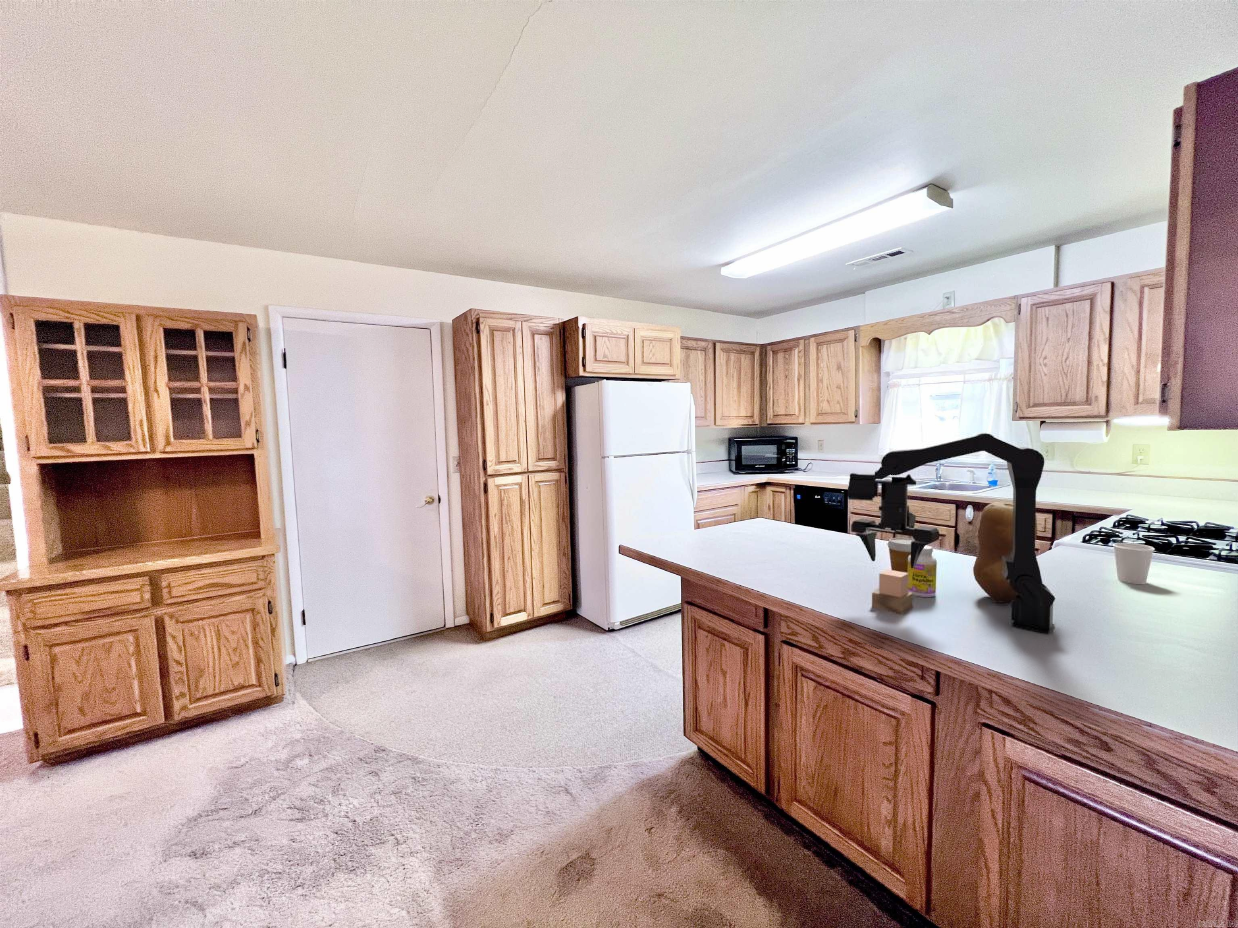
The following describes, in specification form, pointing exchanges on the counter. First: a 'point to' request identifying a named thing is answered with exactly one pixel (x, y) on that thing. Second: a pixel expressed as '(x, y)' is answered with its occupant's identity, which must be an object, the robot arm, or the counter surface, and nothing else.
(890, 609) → the brown box
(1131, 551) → the dixie cup
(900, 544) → the disposable coffee cup
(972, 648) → the counter surface
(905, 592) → the cube
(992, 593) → the butternut squash
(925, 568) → the supplement bottle
